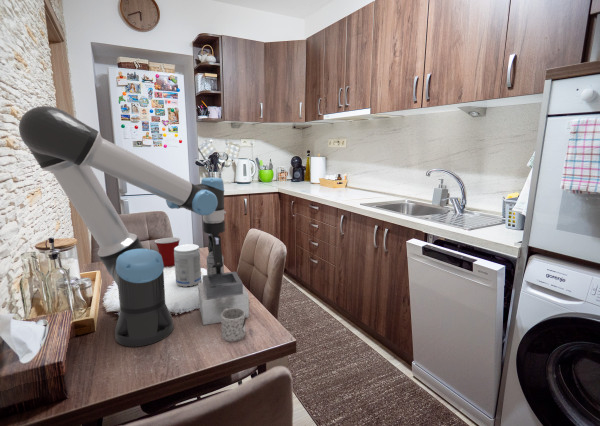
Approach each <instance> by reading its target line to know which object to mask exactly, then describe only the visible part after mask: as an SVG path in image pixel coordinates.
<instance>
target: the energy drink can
mask: <svg viewBox="0 0 600 426" xmlns="http://www.w3.org/2000/svg"><path fill="white" fill-rule="evenodd" d="M222 261H223V267H222V273H225V271H224V270H225V266H224V265H225V264H224V263H225V262H224V255H223V254H222ZM217 264H219V263H217ZM213 265H214V257H213V252H209V251H208V253H207V256H206V275H212V274H214V268H212V266H213Z"/></svg>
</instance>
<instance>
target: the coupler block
mask: <svg viewBox="0 0 600 426" xmlns="http://www.w3.org/2000/svg"><path fill="white" fill-rule="evenodd" d="M197 288H198V289H197V293H198V307H200V308H199V312H200V317H201V321H202V325H203V326H206V325H212V324H218V323H221V313H222V312H223V311H224V309H231V308H239V309H242V310H244V312H245V319H247V318H249V317H250V311H249V310H250V307H249V305H250V303H249V301H250V300H249V297H250V294H249V292H248V290H247V288H246V287H245V285H244V284H243V281H242V280H241V278H240V276H239V275H238V272H236V271H230V272H229V271H228V272H224V273H220V274H212V275H207V274H205V275H202V282H200V283H198V284H197Z"/></svg>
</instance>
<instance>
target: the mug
mask: <svg viewBox="0 0 600 426" xmlns="http://www.w3.org/2000/svg"><path fill="white" fill-rule="evenodd" d="M220 323H221V338H222V339H223V340H224V341H225V342H237V341H240V340H242V339H243V338H245V336H246V318H245V312H244V310H242V309H239V308H231V309H224V311H223V312H222V313H221V322H220Z"/></svg>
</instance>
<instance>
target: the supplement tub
mask: <svg viewBox="0 0 600 426" xmlns="http://www.w3.org/2000/svg"><path fill="white" fill-rule="evenodd" d="M174 260H175V265H174V271H175V272H174V273H175V284H176V285H177V286H178V287H182V286H183V287H185V288H186V287H187V286H190V287H194V286H196V285H198V283H202V282H201V281H202V270H201V269H202V268H201V252H200V246H199V245H198V244H194V243H186V244H180V245H178V246H177V247H175V248H174ZM193 285H194V286H193ZM187 288H188V287H187Z"/></svg>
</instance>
